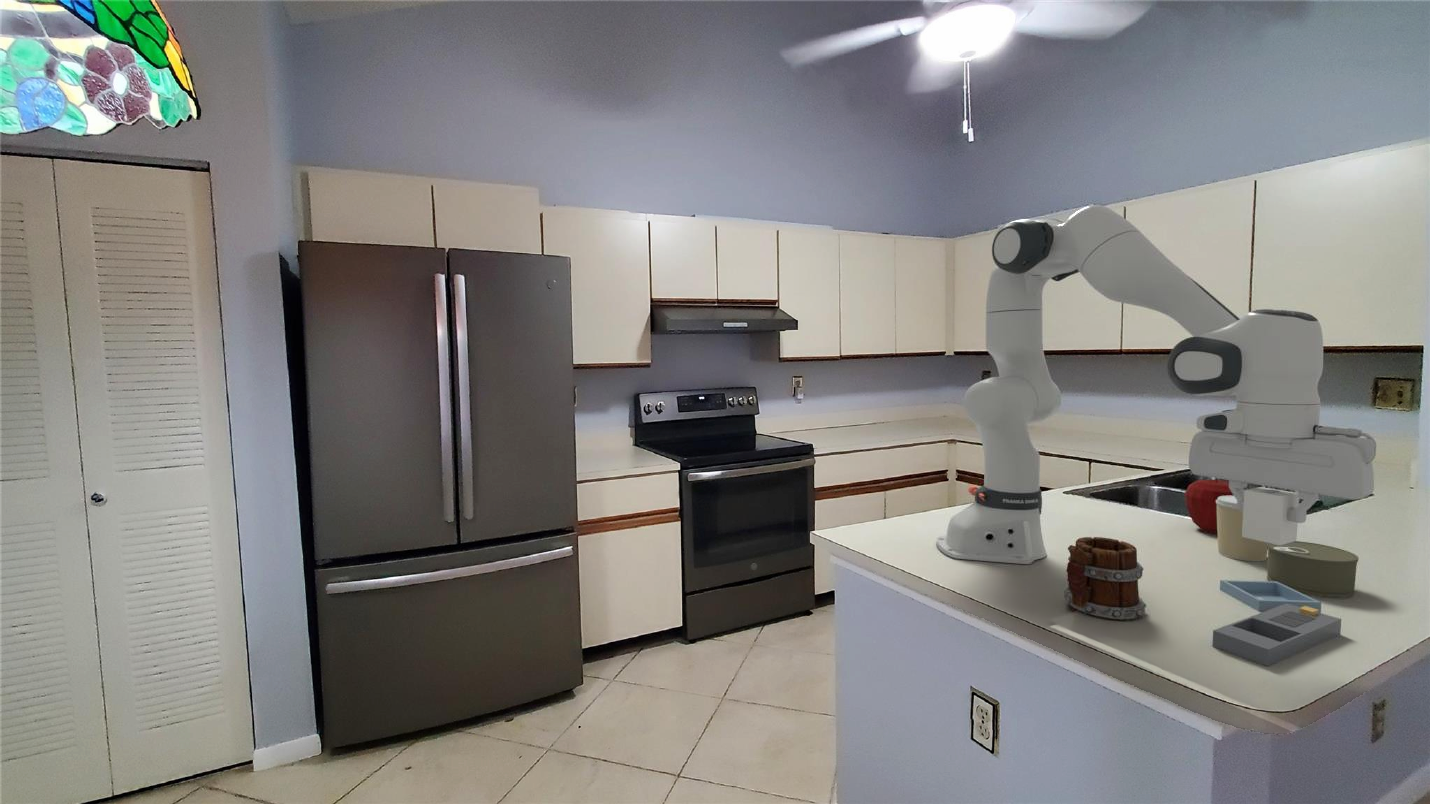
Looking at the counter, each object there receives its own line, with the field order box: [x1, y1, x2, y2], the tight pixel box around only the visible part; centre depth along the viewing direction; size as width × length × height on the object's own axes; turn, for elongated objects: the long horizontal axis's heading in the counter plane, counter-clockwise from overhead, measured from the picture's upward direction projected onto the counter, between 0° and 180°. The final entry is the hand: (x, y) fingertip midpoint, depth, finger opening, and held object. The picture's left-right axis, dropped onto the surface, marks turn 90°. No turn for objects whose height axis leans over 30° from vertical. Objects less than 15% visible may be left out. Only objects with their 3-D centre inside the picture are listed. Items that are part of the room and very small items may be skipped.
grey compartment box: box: [1211, 603, 1342, 667], centre depth 91 cm, size 25×6×4 cm, turn 115°
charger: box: [1242, 486, 1300, 545], centre depth 88 cm, size 4×4×7 cm
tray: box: [1219, 579, 1322, 613], centre depth 104 cm, size 9×9×3 cm
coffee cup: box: [1216, 496, 1268, 562], centre depth 129 cm, size 9×9×12 cm
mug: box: [1063, 536, 1147, 622], centre depth 102 cm, size 12×14×15 cm
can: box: [1266, 540, 1359, 599], centre depth 112 cm, size 12×12×7 cm
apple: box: [1184, 478, 1234, 534], centre depth 146 cm, size 12×12×13 cm
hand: (1270, 516), depth 88 cm, fingers closed on charger, 4 cm apart
